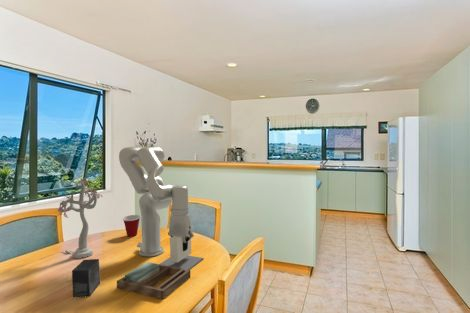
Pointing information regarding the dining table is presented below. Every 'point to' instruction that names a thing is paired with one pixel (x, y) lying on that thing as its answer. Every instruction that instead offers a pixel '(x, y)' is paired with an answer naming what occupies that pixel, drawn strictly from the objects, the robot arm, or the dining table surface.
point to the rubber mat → (183, 262)
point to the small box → (85, 278)
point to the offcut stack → (143, 273)
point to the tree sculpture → (83, 249)
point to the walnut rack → (162, 289)
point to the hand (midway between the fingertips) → (181, 249)
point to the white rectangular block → (178, 249)
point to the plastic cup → (131, 224)
